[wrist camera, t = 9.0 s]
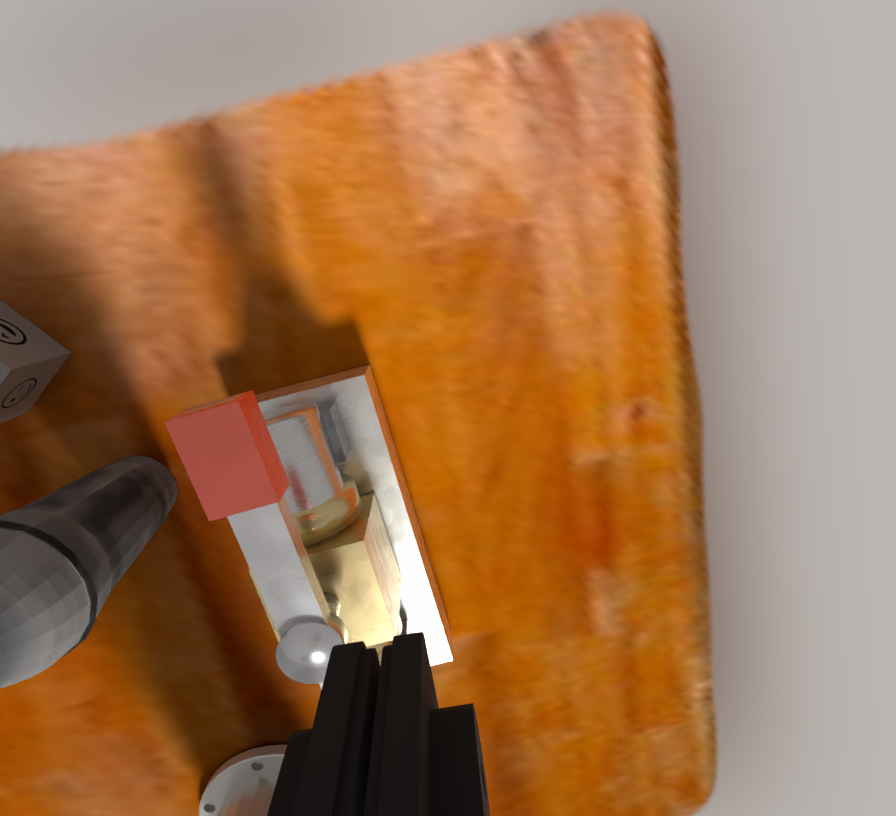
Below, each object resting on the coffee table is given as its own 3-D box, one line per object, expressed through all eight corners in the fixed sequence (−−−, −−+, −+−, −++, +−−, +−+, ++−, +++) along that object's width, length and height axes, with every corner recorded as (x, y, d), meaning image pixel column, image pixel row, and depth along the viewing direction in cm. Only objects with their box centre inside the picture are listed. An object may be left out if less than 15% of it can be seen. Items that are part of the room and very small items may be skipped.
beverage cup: (59, 471, 35) (-392, 739, 16) (149, 413, 34) (-210, 621, 15) (134, 557, 37) (-186, 891, 18) (222, 504, 36) (-14, 793, 17)
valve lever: (356, 651, 26) (351, 679, 25) (297, 666, 27) (288, 696, 25) (252, 390, 23) (237, 401, 21) (184, 409, 23) (164, 422, 21)
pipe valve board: (451, 630, 39) (459, 766, 29) (330, 659, 40) (295, 805, 29) (369, 364, 34) (343, 414, 23) (230, 401, 34) (143, 466, 24)
